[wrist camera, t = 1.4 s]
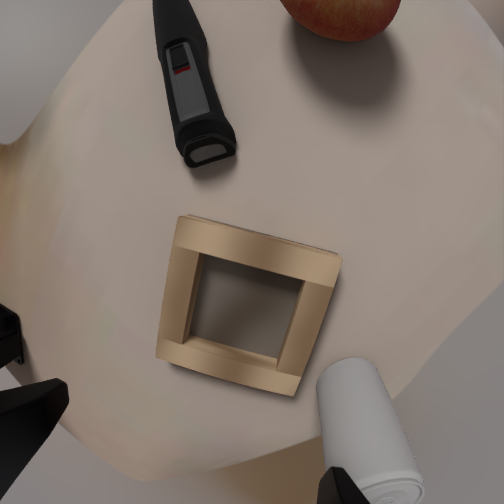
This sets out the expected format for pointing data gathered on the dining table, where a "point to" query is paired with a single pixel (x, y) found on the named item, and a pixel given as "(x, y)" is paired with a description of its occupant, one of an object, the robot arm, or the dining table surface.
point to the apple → (343, 17)
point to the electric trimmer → (190, 85)
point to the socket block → (243, 304)
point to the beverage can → (366, 434)
